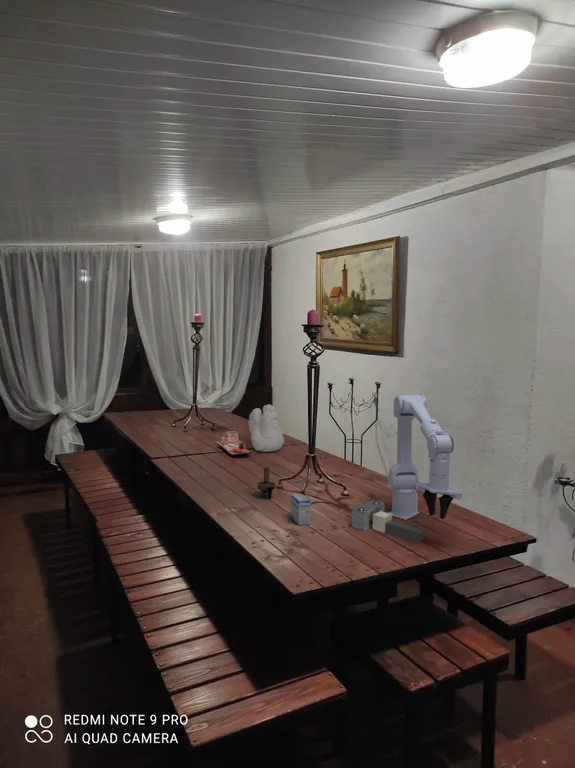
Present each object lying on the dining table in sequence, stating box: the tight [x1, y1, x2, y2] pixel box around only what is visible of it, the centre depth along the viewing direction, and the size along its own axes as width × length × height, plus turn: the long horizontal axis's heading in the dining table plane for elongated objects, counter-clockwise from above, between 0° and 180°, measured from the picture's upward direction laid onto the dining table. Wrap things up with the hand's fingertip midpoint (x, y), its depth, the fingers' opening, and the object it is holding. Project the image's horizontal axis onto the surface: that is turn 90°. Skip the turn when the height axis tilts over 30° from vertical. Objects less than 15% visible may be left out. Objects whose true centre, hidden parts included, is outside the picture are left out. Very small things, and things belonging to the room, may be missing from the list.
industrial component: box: [256, 466, 277, 500], centre depth 219 cm, size 9×7×12 cm
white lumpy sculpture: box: [247, 403, 285, 453], centre depth 294 cm, size 25×16×25 cm, turn 25°
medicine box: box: [290, 493, 312, 526], centre depth 193 cm, size 8×4×9 cm, turn 21°
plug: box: [372, 511, 425, 543], centre depth 183 cm, size 4×17×5 cm, turn 47°
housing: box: [351, 500, 386, 532], centre depth 191 cm, size 12×5×7 cm, turn 137°
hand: (437, 516), depth 173 cm, fingers open, 3 cm apart
